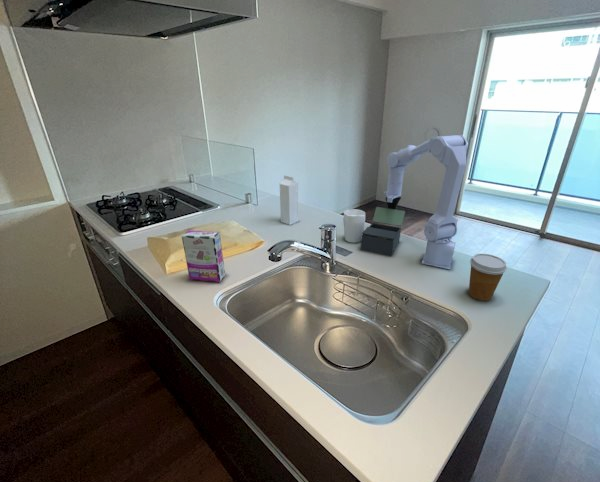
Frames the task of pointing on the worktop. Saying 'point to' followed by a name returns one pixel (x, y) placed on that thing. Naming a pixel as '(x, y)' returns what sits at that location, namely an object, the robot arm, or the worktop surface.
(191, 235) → the candy bar box
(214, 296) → the worktop surface
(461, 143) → the robot arm
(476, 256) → the disposable coffee cup
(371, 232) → the bin
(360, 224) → the cup
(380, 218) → the bin flap
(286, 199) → the milk
